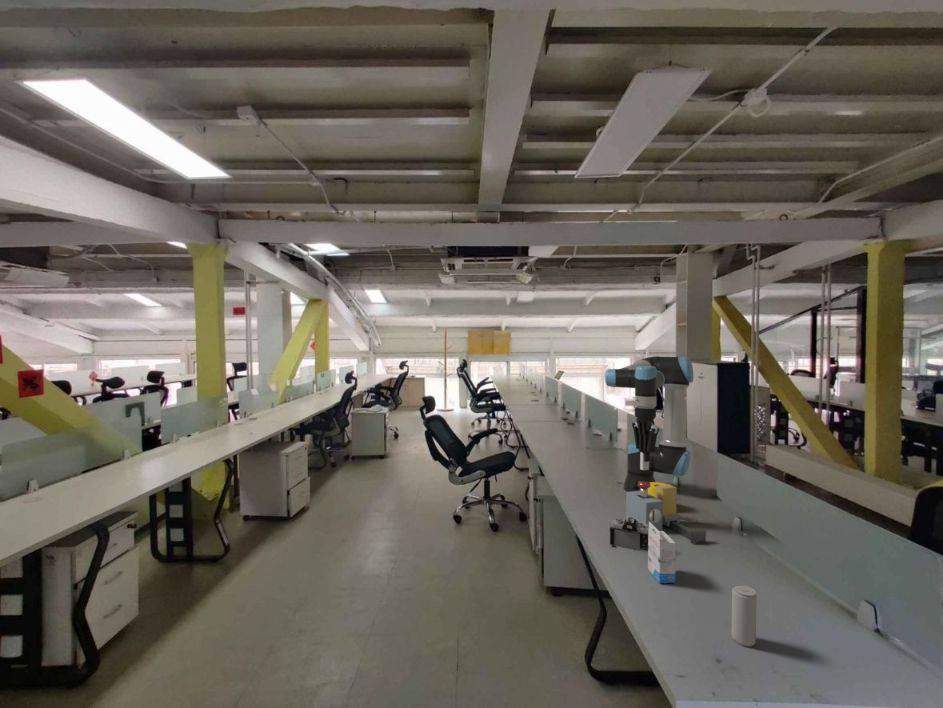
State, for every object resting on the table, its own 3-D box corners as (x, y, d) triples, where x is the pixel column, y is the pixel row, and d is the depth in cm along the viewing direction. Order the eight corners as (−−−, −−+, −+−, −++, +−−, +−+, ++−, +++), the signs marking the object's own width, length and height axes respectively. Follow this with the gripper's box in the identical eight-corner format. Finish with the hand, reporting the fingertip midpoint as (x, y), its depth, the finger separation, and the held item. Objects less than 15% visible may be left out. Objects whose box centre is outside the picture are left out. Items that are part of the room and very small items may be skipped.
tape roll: (640, 505, 185) (640, 483, 184) (659, 502, 188) (659, 481, 188) (657, 514, 175) (657, 491, 175) (677, 511, 178) (677, 488, 178)
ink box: (676, 583, 125) (677, 532, 124) (659, 583, 125) (659, 532, 124) (663, 568, 133) (663, 520, 133) (647, 568, 133) (647, 520, 133)
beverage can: (726, 634, 103) (727, 584, 103) (745, 633, 103) (746, 583, 103) (740, 648, 98) (741, 596, 98) (760, 647, 98) (761, 595, 98)
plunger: (645, 500, 167) (645, 480, 167) (652, 504, 163) (652, 484, 163) (635, 501, 166) (635, 481, 166) (642, 505, 162) (642, 485, 161)
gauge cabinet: (641, 518, 171) (641, 490, 171) (664, 531, 159) (664, 502, 158) (625, 519, 169) (626, 492, 169) (647, 534, 157) (647, 503, 157)
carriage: (666, 516, 171) (666, 482, 170) (681, 524, 163) (681, 489, 162) (651, 518, 169) (651, 484, 168) (665, 526, 161) (665, 490, 161)
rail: (660, 516, 172) (660, 506, 172) (705, 542, 150) (705, 531, 150) (649, 518, 171) (649, 508, 171) (693, 544, 149) (694, 532, 149)
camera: (658, 544, 149) (658, 515, 148) (656, 556, 141) (657, 525, 140) (611, 535, 156) (612, 508, 156) (607, 546, 148) (607, 516, 148)
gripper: (626, 405, 169) (625, 465, 169) (648, 409, 156) (647, 475, 156) (642, 404, 171) (641, 464, 171) (665, 409, 158) (664, 473, 158)
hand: (644, 469), depth 164 cm, fingers closed
